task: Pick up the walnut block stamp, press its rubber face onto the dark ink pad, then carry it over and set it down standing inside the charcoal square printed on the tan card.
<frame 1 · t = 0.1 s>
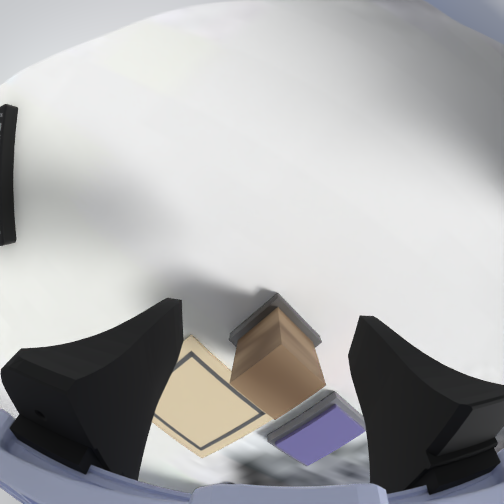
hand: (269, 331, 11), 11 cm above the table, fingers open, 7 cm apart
ink pad: (319, 429, 24), on the table
multiport hub: (5, 175, 22), on the table
stamp: (275, 334, 23), on the table
card: (196, 407, 24), on the table
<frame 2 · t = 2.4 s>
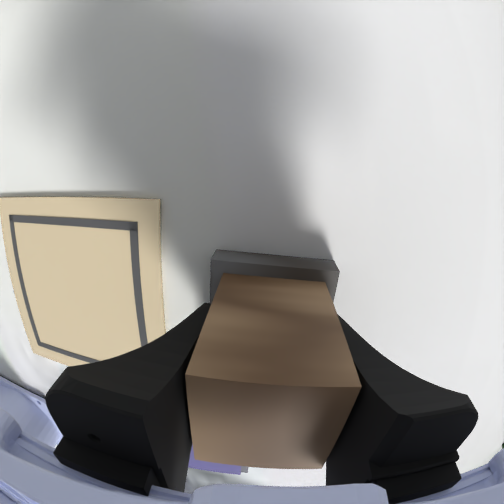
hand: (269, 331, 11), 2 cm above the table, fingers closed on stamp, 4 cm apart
ink pad: (192, 435, 17), on the table
stamp: (269, 307, 13), on the table, touching gripper
card: (74, 297, 14), on the table
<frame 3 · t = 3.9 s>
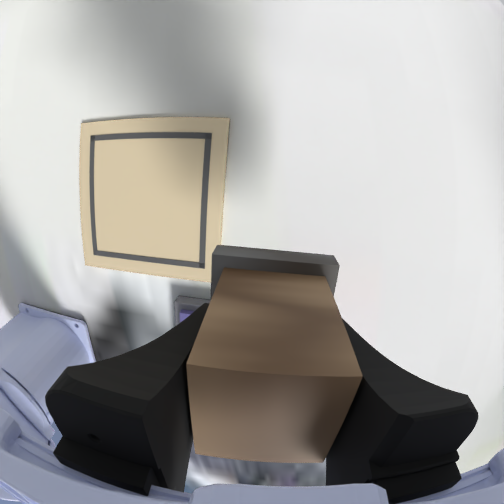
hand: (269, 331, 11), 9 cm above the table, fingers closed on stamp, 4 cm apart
ink pad: (230, 336, 22), on the table
stamp: (270, 302, 13), point 7 cm above the table, touching gripper
card: (144, 198, 19), on the table
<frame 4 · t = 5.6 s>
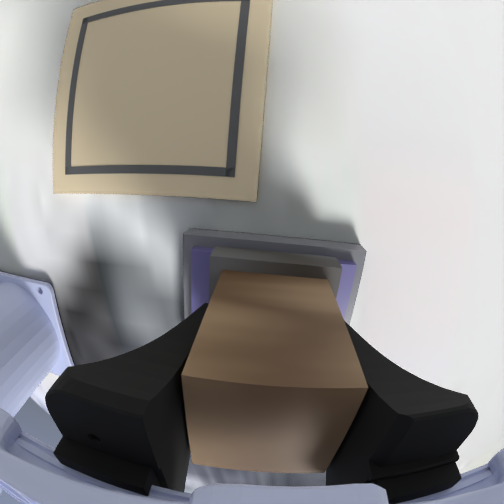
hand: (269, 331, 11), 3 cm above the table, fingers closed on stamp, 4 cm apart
ink pad: (269, 295, 14), on the table
stamp: (270, 305, 13), point 1 cm above the table, touching gripper, ink pad
card: (146, 80, 11), on the table
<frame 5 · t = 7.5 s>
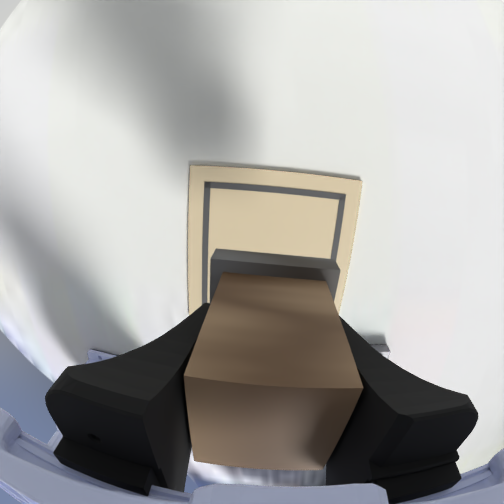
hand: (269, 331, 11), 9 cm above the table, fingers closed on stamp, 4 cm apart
stamp: (270, 306, 13), point 7 cm above the table, touching gripper
card: (269, 253, 20), on the table
when the fingers open (2 cm above the table, at t = 9.2 s): stamp stays where it is, resting on card.
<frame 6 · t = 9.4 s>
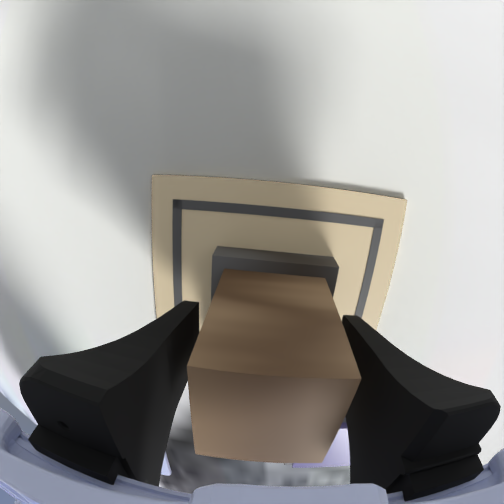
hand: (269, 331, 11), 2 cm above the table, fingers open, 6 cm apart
ink pad: (347, 432, 17), on the table
stamp: (270, 303, 13), resting on card
card: (269, 303, 14), on the table
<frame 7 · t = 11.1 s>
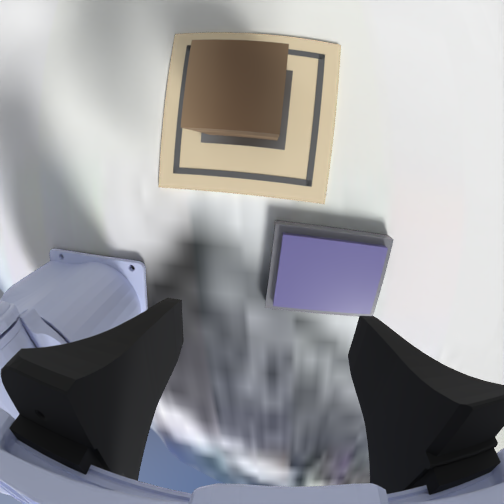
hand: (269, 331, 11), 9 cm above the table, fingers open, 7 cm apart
ink pad: (327, 269, 20), on the table
stamp: (248, 107, 17), resting on card
card: (248, 109, 17), on the table
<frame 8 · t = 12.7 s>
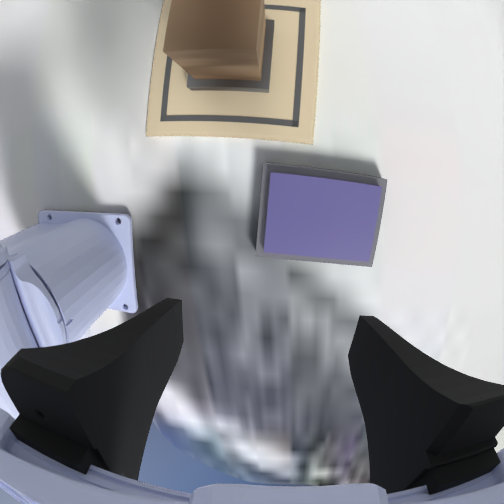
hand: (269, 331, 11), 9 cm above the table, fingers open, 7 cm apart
ink pad: (320, 214, 19), on the table
stamp: (232, 56, 16), resting on card
card: (233, 58, 16), on the table
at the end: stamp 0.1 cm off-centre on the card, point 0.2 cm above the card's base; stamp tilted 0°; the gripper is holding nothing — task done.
